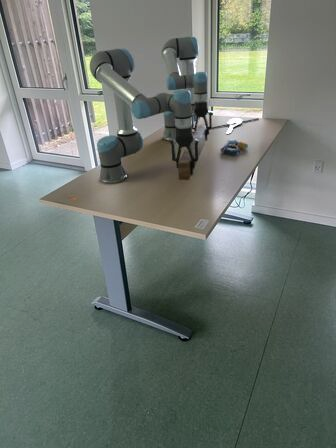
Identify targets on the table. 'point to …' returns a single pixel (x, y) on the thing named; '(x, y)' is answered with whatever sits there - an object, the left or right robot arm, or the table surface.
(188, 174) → the bar
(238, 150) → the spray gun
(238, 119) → the spoon
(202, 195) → the table surface
